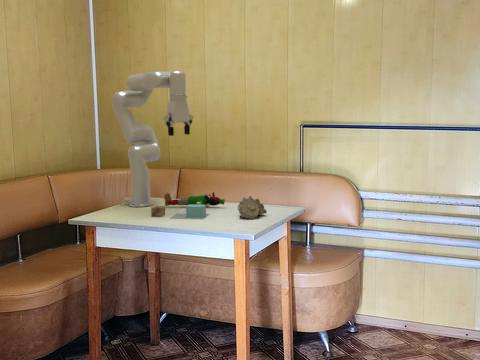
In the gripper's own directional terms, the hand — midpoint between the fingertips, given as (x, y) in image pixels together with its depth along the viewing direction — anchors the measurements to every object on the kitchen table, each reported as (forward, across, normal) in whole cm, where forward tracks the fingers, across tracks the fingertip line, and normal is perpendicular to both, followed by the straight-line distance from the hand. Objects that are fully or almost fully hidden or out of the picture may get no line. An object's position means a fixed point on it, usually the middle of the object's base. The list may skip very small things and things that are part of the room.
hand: (179, 134), depth 282 cm
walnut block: (+37, +14, 0) cm, 40 cm away
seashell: (+38, -14, +33) cm, 52 cm away
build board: (+37, +6, +12) cm, 40 cm away
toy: (+38, -13, -5) cm, 40 cm away
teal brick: (+36, +4, +15) cm, 40 cm away
